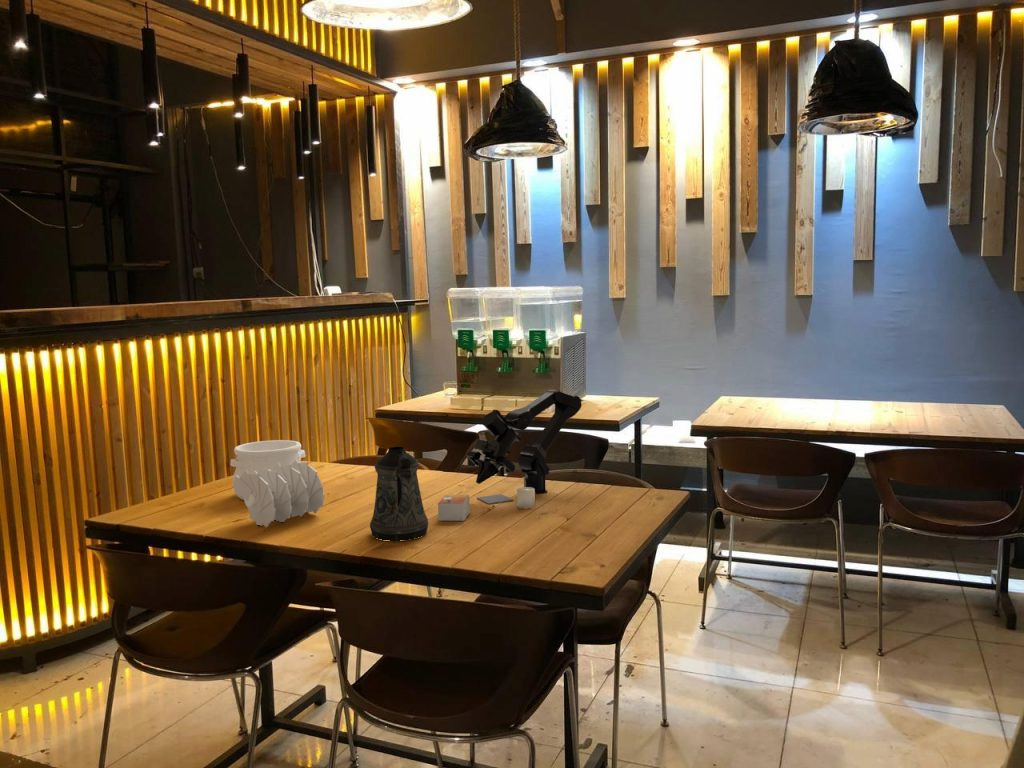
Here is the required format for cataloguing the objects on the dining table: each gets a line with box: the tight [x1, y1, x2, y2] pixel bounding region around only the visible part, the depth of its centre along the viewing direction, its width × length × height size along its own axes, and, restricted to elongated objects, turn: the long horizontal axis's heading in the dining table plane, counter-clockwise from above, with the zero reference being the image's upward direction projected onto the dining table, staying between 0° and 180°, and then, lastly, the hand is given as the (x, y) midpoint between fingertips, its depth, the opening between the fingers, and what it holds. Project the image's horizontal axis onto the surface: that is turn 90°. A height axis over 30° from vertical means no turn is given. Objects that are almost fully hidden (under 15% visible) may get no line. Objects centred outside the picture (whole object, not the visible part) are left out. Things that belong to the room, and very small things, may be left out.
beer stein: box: [369, 446, 429, 541], centre depth 234 cm, size 16×19×25 cm
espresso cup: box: [516, 486, 536, 510], centre depth 264 cm, size 6×8×6 cm
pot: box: [230, 439, 306, 501], centre depth 286 cm, size 26×24×18 cm
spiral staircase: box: [232, 460, 326, 528], centre depth 253 cm, size 18×18×25 cm
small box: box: [437, 494, 471, 522], centre depth 253 cm, size 8×6×10 cm
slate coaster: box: [476, 493, 514, 505], centre depth 272 cm, size 9×9×1 cm
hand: (477, 483), depth 265 cm, fingers closed
